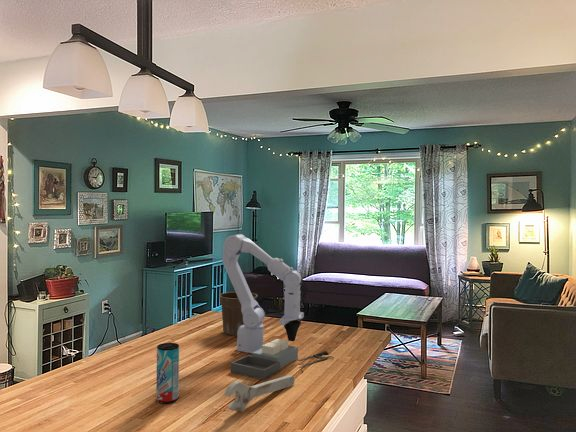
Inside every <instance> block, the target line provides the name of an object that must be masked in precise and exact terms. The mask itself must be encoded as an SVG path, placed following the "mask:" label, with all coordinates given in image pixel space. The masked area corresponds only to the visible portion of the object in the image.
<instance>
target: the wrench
mask: <svg viewBox="0 0 576 432" xmlns="http://www.w3.org/2000/svg"><path fill="white" fill-rule="evenodd" d="M295 382H296V381H295V376H294V375H291V374H288V375H284V376H280V377H277V378H275V379H270V380H268V381H264V382H261V383H258V384H254V385H247V384H244V383H243V382H241V381H237V380H236V381H235V380H234V381H233V382H231V383H230V384H229V385H228V386H227V388H226V390H225V392H224V396H225V397H228V398H229V397H230V398H231V396H233V395H234V394H235V398H234V400H233V401H231V402H230V403H229V404H228V406H227V409H228V410H230V411H239V412H242V413H243V412H245V411H244V410H245V409H246V406H247V405H249V403H250V402H251V401H252V400H253V399H256V398H258V397H261V396H263V395H267V394H270V393H273V392H276V391H280V390H282V389H287V388H290V387H291V386H294V384H295Z"/></svg>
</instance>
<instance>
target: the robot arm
mask: <svg viewBox="0 0 576 432" xmlns="http://www.w3.org/2000/svg"><path fill="white" fill-rule="evenodd" d="M222 248H223V251H222V264H223V266H224V268H225V271H226V273H227V275H228V277H229V280H230V282H231V284H232V287H233V289H234V292H236V294H237V296H238V298H239V301H240V303H241V312H242V314H243V323H244V325H241V326H240V327H239V329H238V332H237V336H236V337H237V339H236V341H237V342H236V348H235V350H236V351H240V352H243V353H248V354H252V352H255V351H257V350H259V349H261V348H262V345H264V327H265V325H264V324H263V321H264V320H265V317H266V312H265V310H264V309H263V308H262V307H261V306H260V305H259V302H258V300H257V299H256V300H254V298H253V296H252V293H253V292H251V290H250V287H249V285H248V283H247V280H246V278H245V275H244V274H243V271H242V269H241V266H240V264H239V262H238V261H239V258H240V255H241V253H246V254H251V255H252V256H253V257H255V258H257V259H258V260H259V261H261V262H262V263H264V264H265V265H266V266H267V271H269V272H270V273H271V274H272V275H274V276H276V278H278V279H279V280H280V281H282V282H283V284H284V287H285V288H284V311H283V313H284V315H283V316H282V317H281V318H280V319H279V321H278V322H279V323H278V324H279V325H280V326H283V327H284V330H285V332H286V335H287V340H288V342H295V341H296V338H297V333H298V332H299V331H298V330H299V328H300V327H301V324H302V321H301V320H303V318H304V317H305V312H302V311H301V284H300V283H301V282H302V275H301V274H300V272H299V270H296V269H294V267H292V266H291V267H290V266H289V265H288V264H286V263H285V262H284V259H283V258H278V257H272V256H270V255H269V254H268V253H267V252H266V251H265V250H263V249H262V248H261V247H260V246H258V245H257V244H256V243H255V242H254V241H252V240H251V239H250V238H249V237H246V236H245V235H244V234H242V233H237V234H234V235H233V234H232V235H229V236H227V237H226V238H225V240H224V242H223V244H222Z"/></svg>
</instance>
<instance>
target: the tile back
mask: <svg viewBox="0 0 576 432" xmlns="http://www.w3.org/2000/svg"><path fill="white" fill-rule="evenodd" d="M270 342H271V343H276V344H280V351H282V350H284V349H286V348H288V346H289V341H288V339H280V338H275V339H273V340H272V341H270Z"/></svg>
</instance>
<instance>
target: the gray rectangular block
mask: <svg viewBox="0 0 576 432" xmlns="http://www.w3.org/2000/svg"><path fill="white" fill-rule="evenodd" d="M251 354H252V355H251V356H255V357H259V358H264V359H269V360H273V361H278V362H280V369H281V368H283V367H285V366H287V365H289V364H290V363H293V362H294V361H296V360H297V359H298V358H299V347H298V346H292V345H288V348H286V349H284V350H282V351H280V352H278V353H276V354H274V355H271V354H266V353H262V348H261V349H259V350H257V351H255V352H252V353H251Z"/></svg>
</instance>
